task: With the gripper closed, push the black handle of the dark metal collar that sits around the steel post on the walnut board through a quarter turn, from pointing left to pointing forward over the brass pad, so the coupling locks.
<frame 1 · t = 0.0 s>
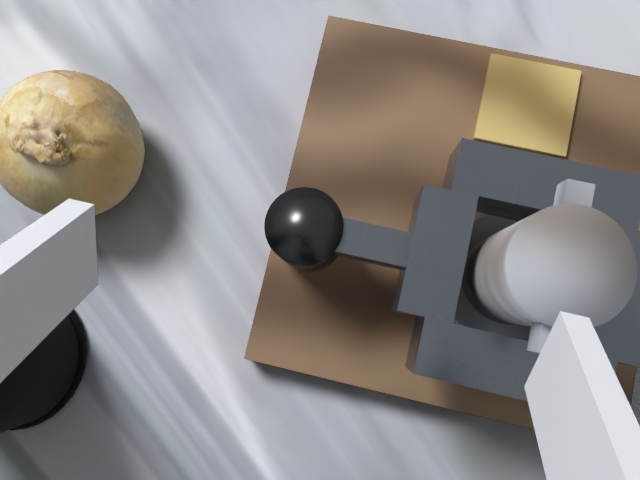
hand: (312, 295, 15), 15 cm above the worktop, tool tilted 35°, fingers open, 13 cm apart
aerosol can: (19, 354, 31), on the worktop
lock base: (485, 282, 30), on the worktop
onion: (94, 161, 32), on the worktop
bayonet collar: (443, 261, 25), point 5 cm above the worktop, hinge at 90.0°
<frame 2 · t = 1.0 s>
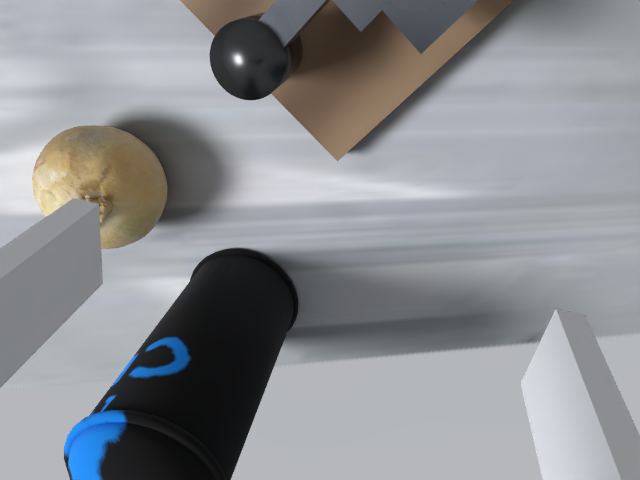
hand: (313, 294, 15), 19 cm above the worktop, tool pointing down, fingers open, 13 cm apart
aerosol can: (245, 295, 39), on the worktop
onion: (126, 171, 36), on the worktop
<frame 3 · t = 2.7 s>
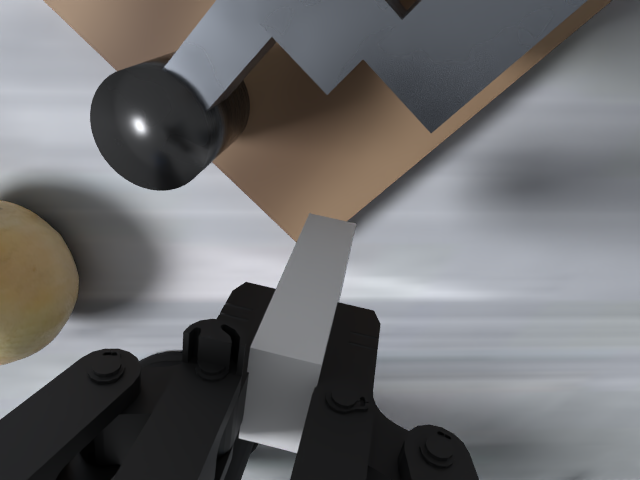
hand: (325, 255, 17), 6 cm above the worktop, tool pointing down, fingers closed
aerosol can: (194, 406, 30), on the worktop
onion: (29, 250, 27), on the worktop
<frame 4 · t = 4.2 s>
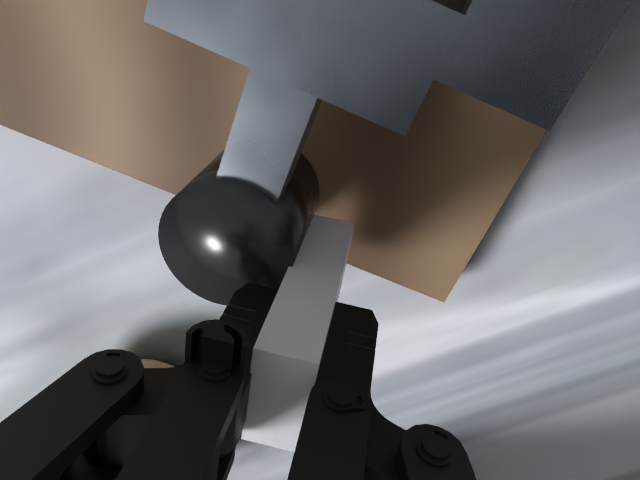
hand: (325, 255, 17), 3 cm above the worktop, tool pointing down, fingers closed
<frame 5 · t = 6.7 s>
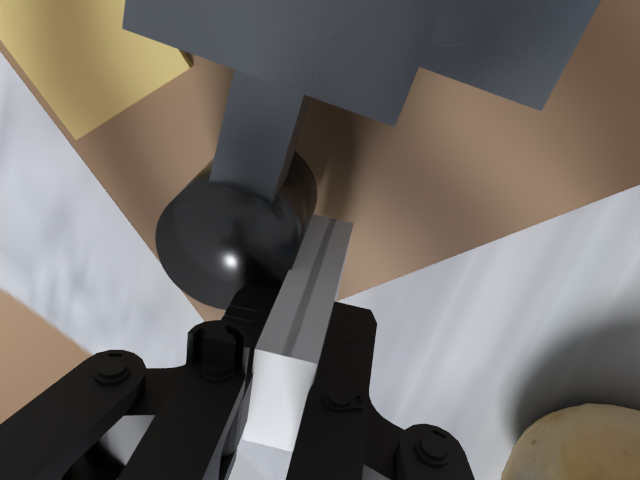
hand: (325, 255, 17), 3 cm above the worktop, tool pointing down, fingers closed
onion: (583, 441, 24), on the worktop
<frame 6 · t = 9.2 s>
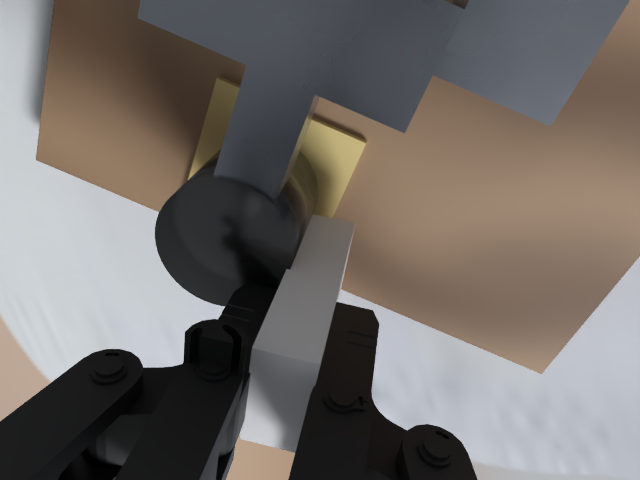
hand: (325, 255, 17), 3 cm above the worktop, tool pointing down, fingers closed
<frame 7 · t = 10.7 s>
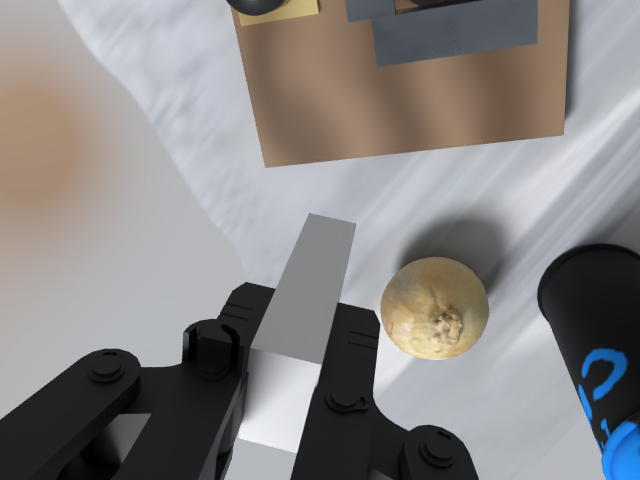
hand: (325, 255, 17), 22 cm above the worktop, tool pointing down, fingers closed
aerosol can: (592, 289, 41), on the worktop
onion: (431, 286, 43), on the worktop
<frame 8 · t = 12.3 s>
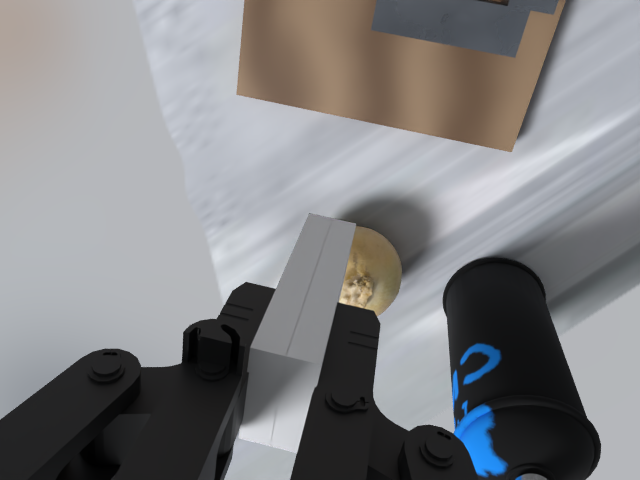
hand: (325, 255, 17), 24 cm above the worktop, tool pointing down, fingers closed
aerosol can: (492, 298, 45), on the worktop
onion: (355, 255, 45), on the worktop
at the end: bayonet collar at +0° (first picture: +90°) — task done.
